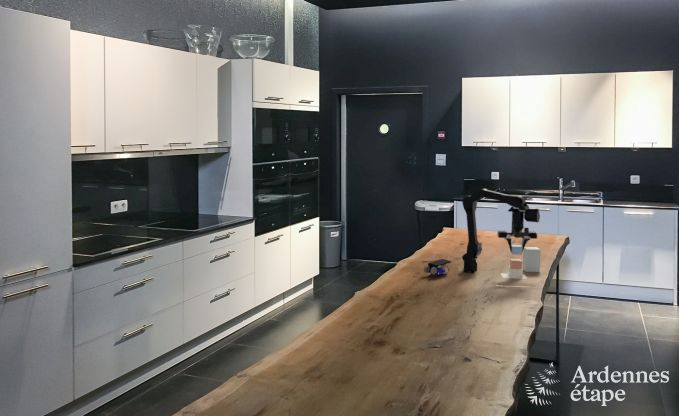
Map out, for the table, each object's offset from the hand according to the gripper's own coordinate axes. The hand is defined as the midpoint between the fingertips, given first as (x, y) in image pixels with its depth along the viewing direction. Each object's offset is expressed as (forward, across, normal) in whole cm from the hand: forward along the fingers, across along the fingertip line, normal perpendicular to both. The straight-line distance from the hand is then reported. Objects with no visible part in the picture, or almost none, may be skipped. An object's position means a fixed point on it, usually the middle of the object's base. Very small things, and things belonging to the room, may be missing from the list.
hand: (516, 251), depth 336 cm
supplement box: (+13, +10, +14) cm, 22 cm away
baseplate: (+13, -1, -1) cm, 13 cm away
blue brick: (+1, 0, 0) cm, 1 cm away
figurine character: (+13, -39, -2) cm, 41 cm away
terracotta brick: (+8, 0, 0) cm, 8 cm away
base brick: (+12, 0, 0) cm, 12 cm away
